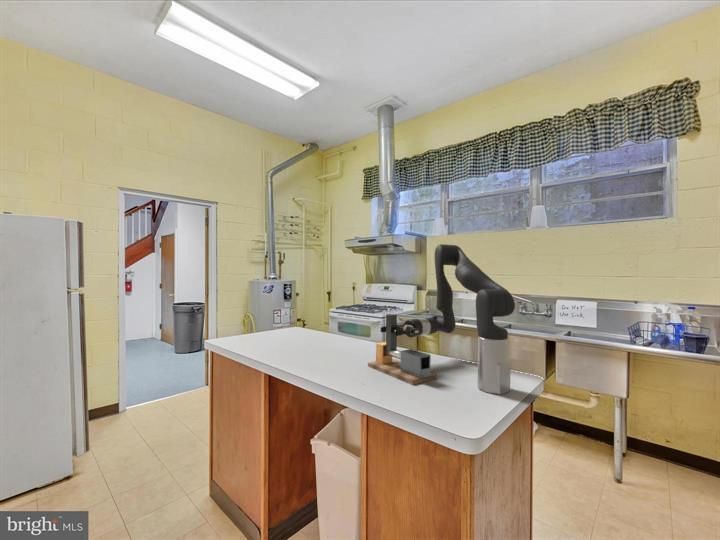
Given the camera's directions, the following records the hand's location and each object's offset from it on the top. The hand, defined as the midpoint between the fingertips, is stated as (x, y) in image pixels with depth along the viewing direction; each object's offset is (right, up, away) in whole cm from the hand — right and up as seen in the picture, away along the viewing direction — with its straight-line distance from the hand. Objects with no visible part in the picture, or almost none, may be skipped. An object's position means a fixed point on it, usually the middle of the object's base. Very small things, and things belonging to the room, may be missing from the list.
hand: (387, 331), depth 128 cm
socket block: (-1, -14, +5) cm, 14 cm away
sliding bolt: (+3, -10, -2) cm, 11 cm away
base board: (+5, -15, -4) cm, 16 cm away
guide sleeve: (+9, -14, -10) cm, 19 cm away
